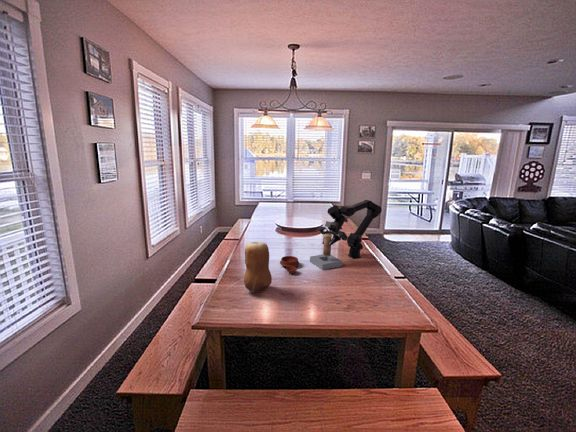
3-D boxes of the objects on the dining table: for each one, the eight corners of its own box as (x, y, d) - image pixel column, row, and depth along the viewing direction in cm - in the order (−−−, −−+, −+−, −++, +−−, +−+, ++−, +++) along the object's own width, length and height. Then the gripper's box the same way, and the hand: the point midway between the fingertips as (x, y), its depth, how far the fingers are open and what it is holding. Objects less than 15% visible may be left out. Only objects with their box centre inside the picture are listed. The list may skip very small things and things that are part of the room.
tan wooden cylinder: (329, 253, 180) (330, 233, 177) (331, 255, 176) (332, 235, 173) (322, 253, 179) (322, 233, 176) (324, 256, 175) (325, 236, 172)
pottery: (297, 262, 183) (298, 255, 182) (302, 275, 164) (302, 268, 163) (279, 262, 182) (279, 255, 181) (281, 276, 163) (281, 268, 162)
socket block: (328, 258, 190) (328, 253, 189) (341, 266, 178) (342, 260, 177) (309, 261, 184) (310, 256, 183) (322, 270, 172) (322, 264, 171)
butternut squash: (257, 281, 155) (257, 236, 149) (277, 290, 146) (277, 242, 141) (237, 291, 144) (236, 242, 138) (257, 300, 136) (257, 249, 130)
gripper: (320, 213, 181) (308, 234, 176) (346, 219, 168) (333, 241, 163) (327, 223, 188) (316, 243, 183) (352, 229, 176) (340, 251, 171)
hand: (326, 244), depth 175 cm, fingers closed on tan wooden cylinder, 4 cm apart
